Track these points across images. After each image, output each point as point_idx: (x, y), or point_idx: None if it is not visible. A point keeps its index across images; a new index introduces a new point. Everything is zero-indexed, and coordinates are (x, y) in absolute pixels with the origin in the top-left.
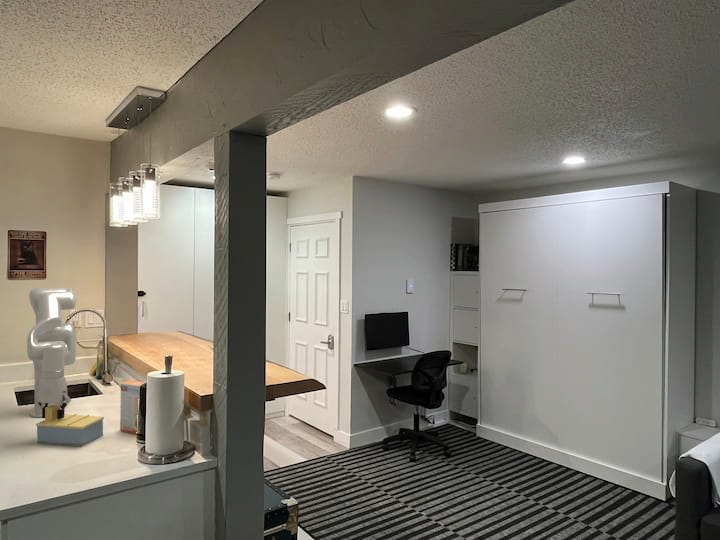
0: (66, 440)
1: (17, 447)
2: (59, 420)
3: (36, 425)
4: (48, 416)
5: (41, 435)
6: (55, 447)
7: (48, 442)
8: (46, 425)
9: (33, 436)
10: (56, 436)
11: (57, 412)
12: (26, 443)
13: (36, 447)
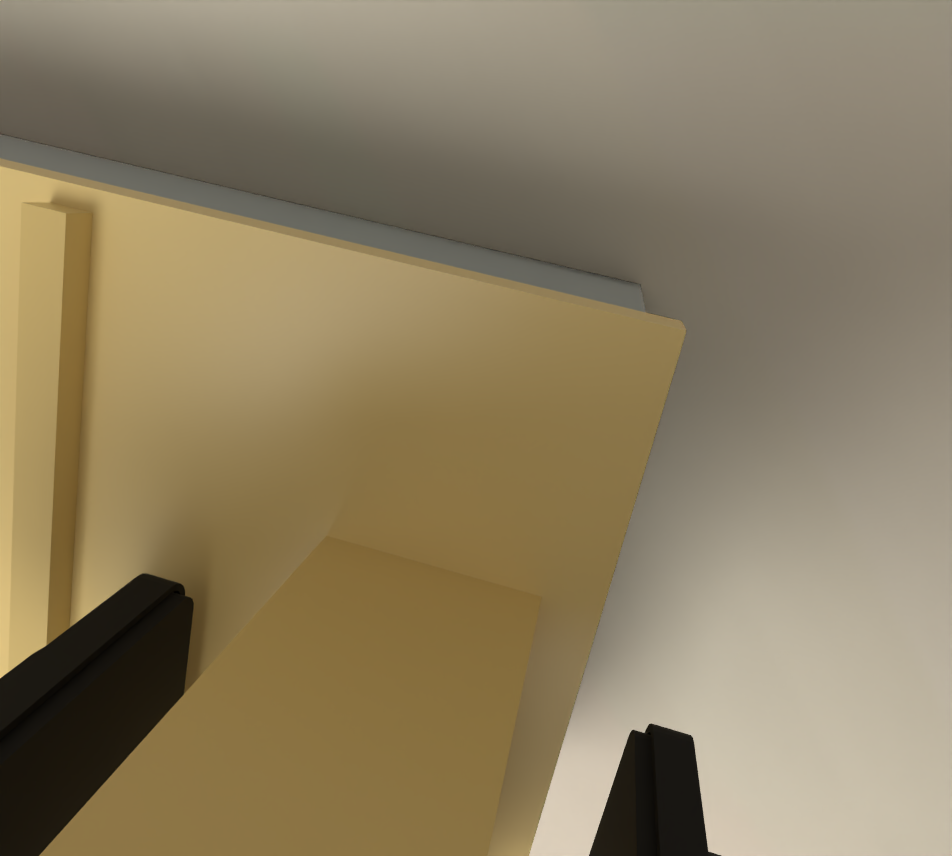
0: (22, 149)
1: (915, 44)
2: (159, 575)
3: (660, 319)
4: (394, 639)
5: (535, 278)
6: (192, 45)
7: (402, 229)
8: (310, 235)
9: (878, 617)
10: (184, 194)
11: (23, 706)
12: (835, 268)
13: (526, 45)
